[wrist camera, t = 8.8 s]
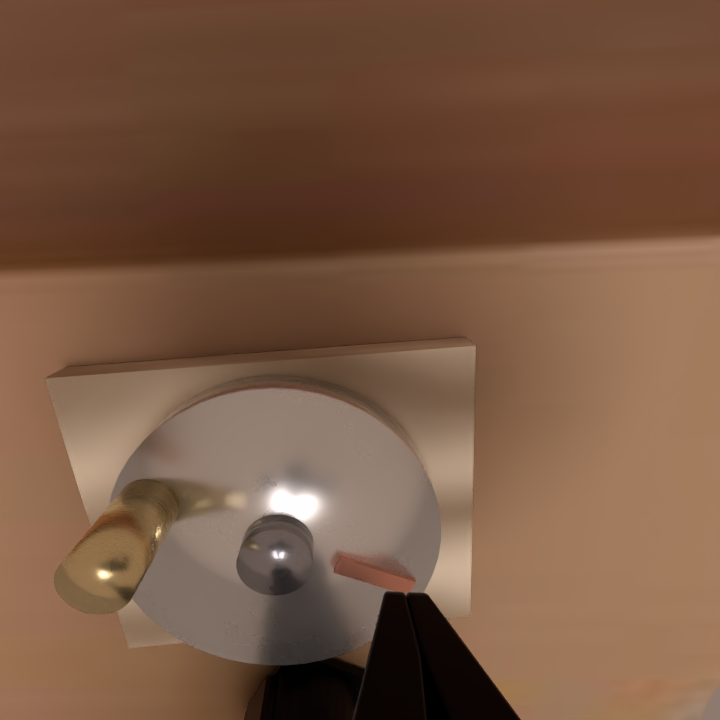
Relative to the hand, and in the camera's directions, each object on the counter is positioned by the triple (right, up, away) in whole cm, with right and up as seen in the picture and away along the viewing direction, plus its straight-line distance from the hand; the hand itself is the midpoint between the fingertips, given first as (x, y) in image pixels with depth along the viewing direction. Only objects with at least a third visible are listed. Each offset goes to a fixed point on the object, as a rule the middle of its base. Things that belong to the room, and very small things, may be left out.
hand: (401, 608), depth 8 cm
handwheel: (-4, -2, +11) cm, 12 cm away
